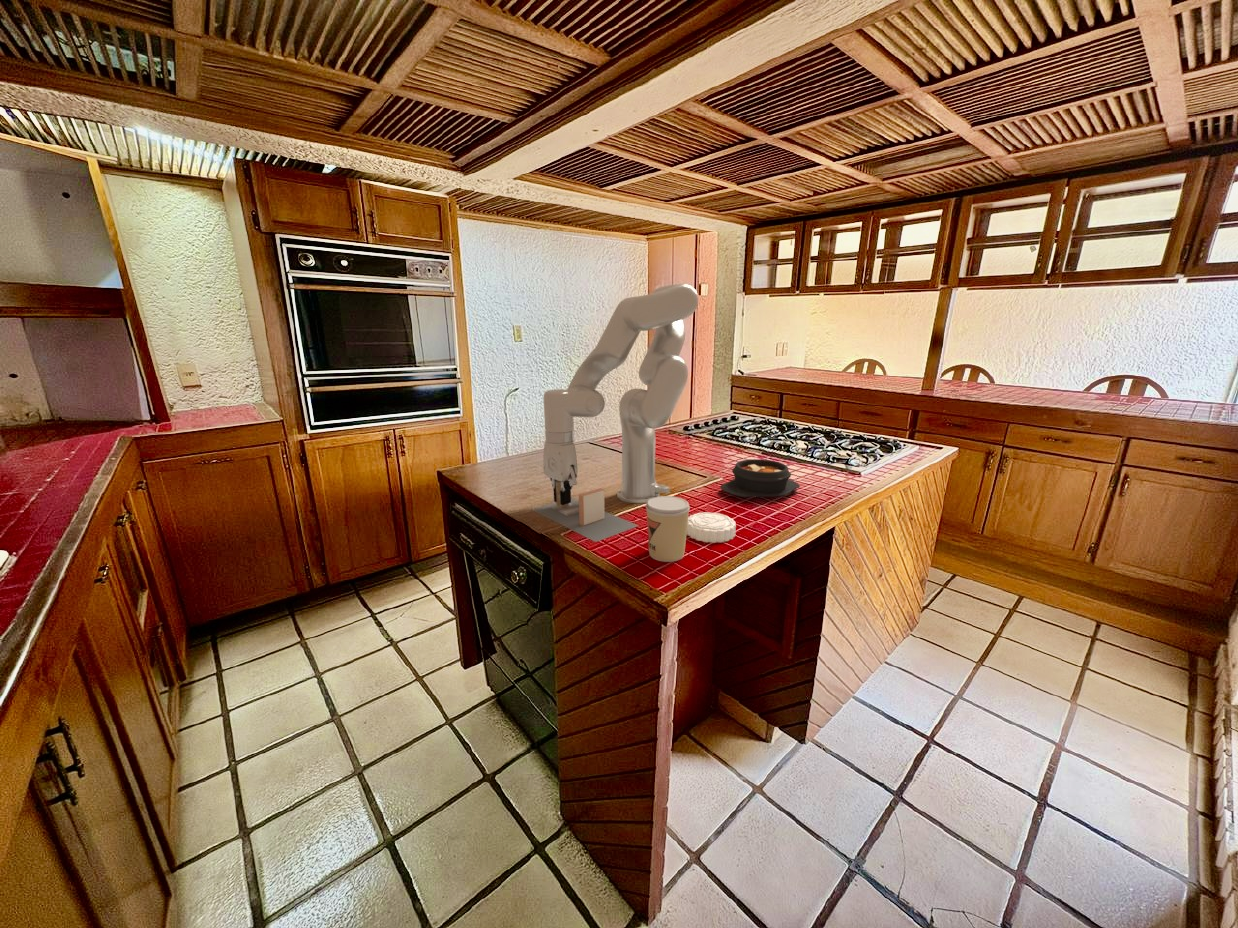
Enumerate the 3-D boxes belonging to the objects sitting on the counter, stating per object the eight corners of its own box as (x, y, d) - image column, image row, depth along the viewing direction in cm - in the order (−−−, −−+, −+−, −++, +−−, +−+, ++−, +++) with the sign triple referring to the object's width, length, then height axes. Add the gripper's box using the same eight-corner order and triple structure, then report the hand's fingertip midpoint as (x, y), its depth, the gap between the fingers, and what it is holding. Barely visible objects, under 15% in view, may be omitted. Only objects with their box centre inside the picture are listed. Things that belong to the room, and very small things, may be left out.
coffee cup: (642, 545, 110) (643, 496, 107) (682, 543, 111) (684, 494, 107) (648, 564, 101) (649, 511, 98) (692, 562, 102) (694, 510, 98)
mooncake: (711, 519, 125) (712, 507, 124) (746, 536, 115) (747, 522, 114) (675, 530, 119) (675, 516, 118) (708, 548, 109) (709, 533, 108)
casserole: (746, 508, 132) (748, 479, 130) (707, 488, 148) (708, 462, 146) (814, 495, 142) (817, 468, 140) (770, 478, 158) (772, 453, 156)
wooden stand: (552, 508, 131) (551, 481, 129) (566, 504, 135) (566, 477, 133) (567, 515, 126) (566, 487, 124) (582, 511, 130) (581, 483, 128)
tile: (579, 524, 121) (578, 494, 119) (600, 517, 126) (600, 488, 123) (583, 526, 120) (583, 496, 118) (605, 518, 124) (604, 489, 122)
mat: (531, 510, 131) (531, 509, 131) (572, 498, 140) (572, 497, 140) (595, 543, 111) (595, 541, 111) (638, 526, 120) (638, 525, 120)
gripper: (531, 434, 130) (535, 498, 135) (566, 444, 118) (568, 513, 123) (554, 430, 135) (557, 492, 140) (589, 439, 123) (591, 506, 128)
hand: (562, 501), depth 132 cm, fingers closed on wooden stand
